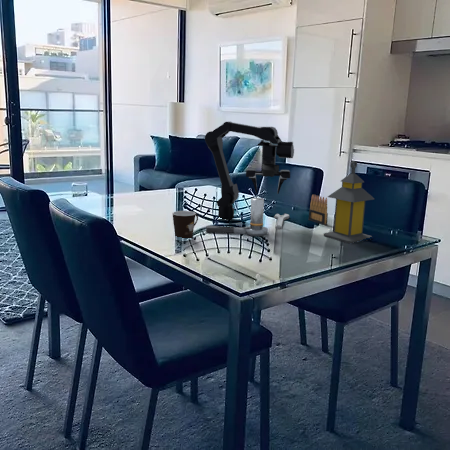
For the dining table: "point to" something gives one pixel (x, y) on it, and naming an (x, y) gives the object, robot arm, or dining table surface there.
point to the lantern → (349, 209)
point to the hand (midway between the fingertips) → (267, 193)
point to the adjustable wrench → (280, 220)
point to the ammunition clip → (318, 210)
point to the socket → (257, 213)
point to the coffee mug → (184, 223)
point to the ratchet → (237, 230)
